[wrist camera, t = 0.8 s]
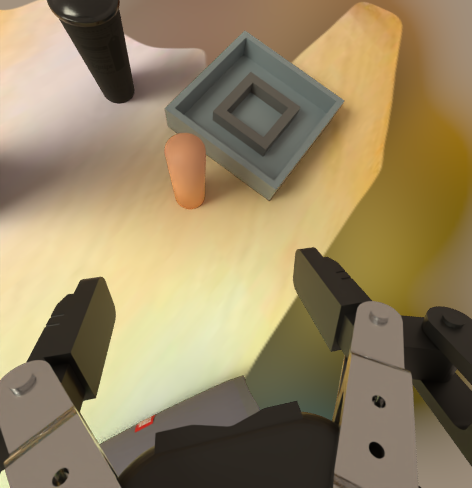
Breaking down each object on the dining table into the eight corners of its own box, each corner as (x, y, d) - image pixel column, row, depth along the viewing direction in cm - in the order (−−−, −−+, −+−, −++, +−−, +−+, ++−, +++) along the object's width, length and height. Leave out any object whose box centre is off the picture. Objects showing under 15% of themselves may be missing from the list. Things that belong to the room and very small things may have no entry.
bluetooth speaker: (236, 361, 36) (248, 381, 27) (265, 432, 35) (289, 480, 25) (60, 450, 32) (-3, 511, 22) (84, 535, 30) (29, 642, 21)
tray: (168, 126, 43) (164, 108, 39) (241, 52, 48) (244, 30, 44) (269, 200, 42) (276, 190, 38) (332, 117, 47) (344, 100, 43)
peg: (169, 197, 40) (155, 152, 29) (187, 176, 42) (182, 125, 30) (192, 214, 40) (188, 176, 29) (210, 193, 41) (213, 148, 30)
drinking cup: (143, 71, 45) (99, -108, 26) (143, 111, 43) (96, -49, 24) (94, 69, 44) (10, -119, 25) (92, 110, 42) (0, -58, 23)
